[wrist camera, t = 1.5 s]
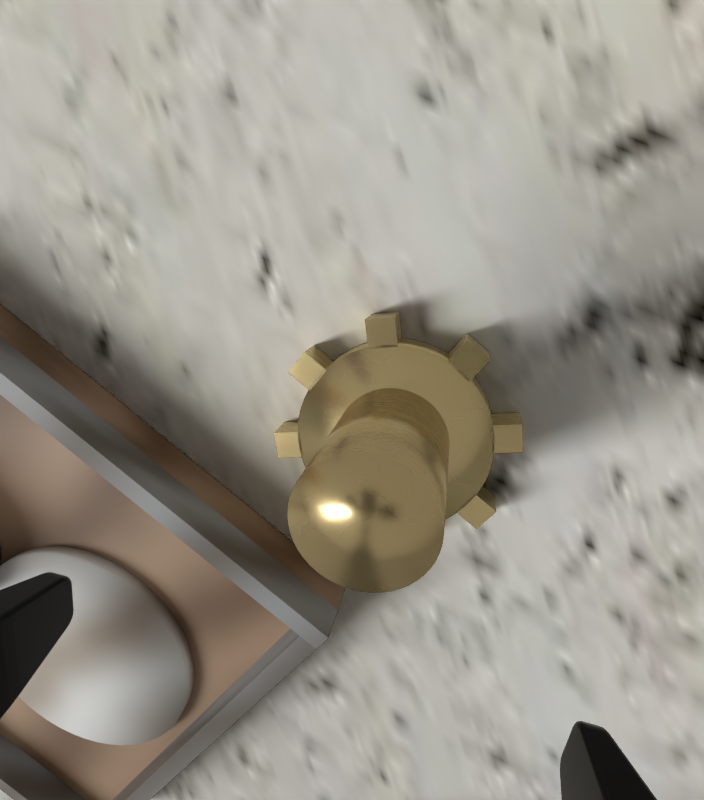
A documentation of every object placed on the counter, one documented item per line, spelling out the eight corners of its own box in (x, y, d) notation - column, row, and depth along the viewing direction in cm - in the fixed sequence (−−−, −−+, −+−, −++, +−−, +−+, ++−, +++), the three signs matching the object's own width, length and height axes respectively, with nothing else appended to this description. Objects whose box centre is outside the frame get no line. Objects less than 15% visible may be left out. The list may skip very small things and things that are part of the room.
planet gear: (574, 423, 17) (636, 529, 11) (409, 571, 20) (386, 716, 14) (380, 259, 17) (331, 271, 11) (244, 435, 20) (146, 523, 14)
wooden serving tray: (345, 585, 21) (317, 670, 17) (122, 797, 29) (66, 890, 25) (-62, 253, 21) (-196, 257, 16) (-177, 564, 29) (-287, 620, 24)
